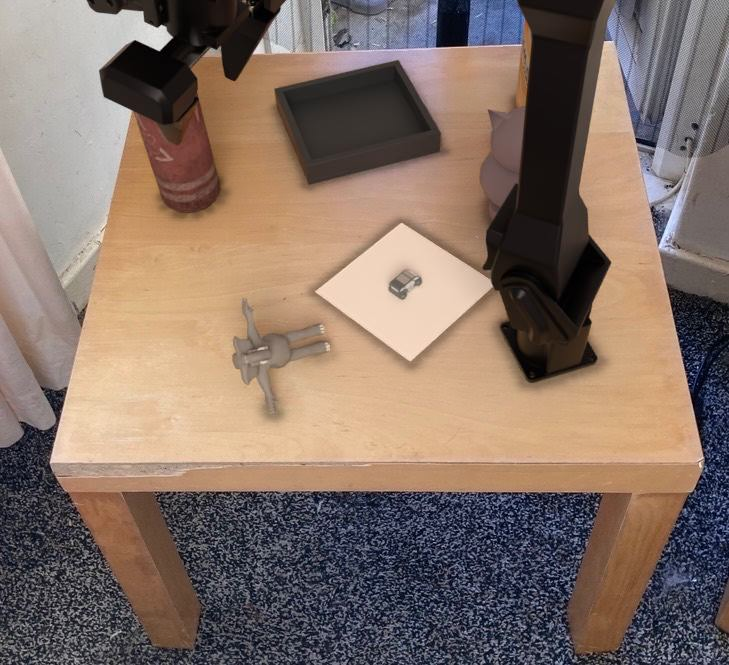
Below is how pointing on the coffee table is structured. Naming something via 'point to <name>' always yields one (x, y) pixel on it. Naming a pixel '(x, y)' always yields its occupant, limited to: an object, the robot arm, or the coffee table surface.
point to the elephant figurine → (271, 352)
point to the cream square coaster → (405, 290)
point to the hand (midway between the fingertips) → (203, 109)
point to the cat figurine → (502, 157)
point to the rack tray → (356, 121)
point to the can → (182, 164)
